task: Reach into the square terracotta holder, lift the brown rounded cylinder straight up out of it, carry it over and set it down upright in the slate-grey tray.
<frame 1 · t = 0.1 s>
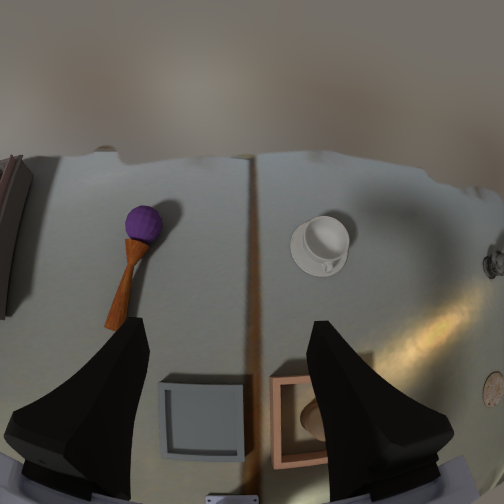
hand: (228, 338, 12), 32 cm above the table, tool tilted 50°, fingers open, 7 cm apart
tray: (201, 421, 38), on the table
flatbread: (492, 389, 41), on the table
brown rounded cylinder: (316, 416, 39), resting in holder
salt shaker: (489, 268, 51), on the table
teacup: (318, 249, 49), on the table
kendama: (135, 272, 46), on the table
holder: (316, 417, 39), on the table
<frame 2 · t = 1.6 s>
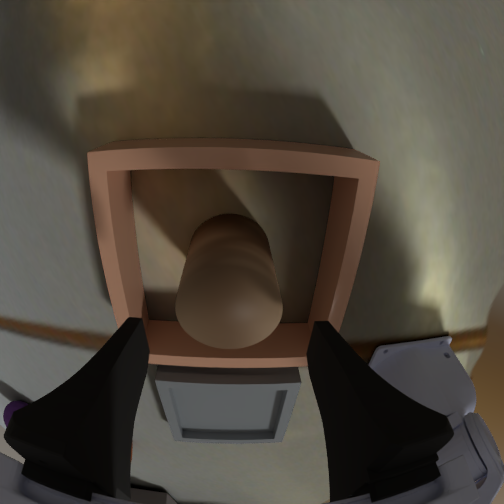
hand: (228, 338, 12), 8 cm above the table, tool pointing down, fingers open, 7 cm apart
organizer tray: (127, 496, 52), on the table
tray: (227, 402, 27), on the table
brown rounded cylinder: (229, 250, 19), resting in holder
holder: (229, 251, 19), on the table
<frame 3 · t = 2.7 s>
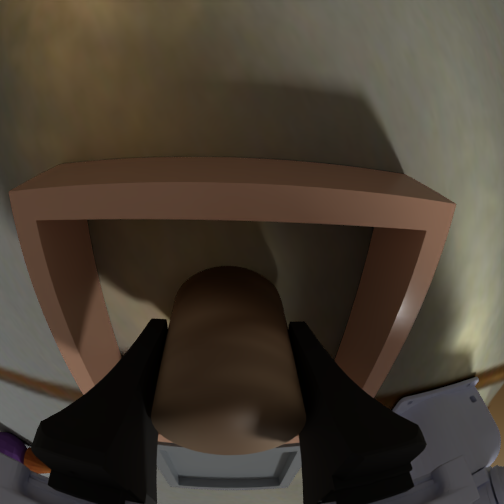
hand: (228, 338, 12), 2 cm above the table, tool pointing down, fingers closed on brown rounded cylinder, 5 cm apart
tray: (228, 454, 22), on the table
brown rounded cylinder: (228, 312, 14), resting in holder, touching gripper
kendama: (58, 454, 25), on the table
holder: (228, 313, 14), on the table
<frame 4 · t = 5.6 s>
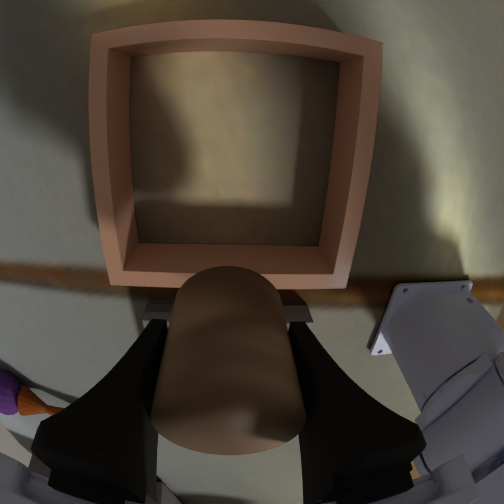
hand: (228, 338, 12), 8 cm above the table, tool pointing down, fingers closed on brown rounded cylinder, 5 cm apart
organizer tray: (122, 489, 50), on the table
tray: (227, 359, 25), on the table
brown rounded cylinder: (228, 312, 14), point 7 cm above the table, touching gripper
kendama: (54, 394, 28), on the table
holder: (230, 151, 17), on the table
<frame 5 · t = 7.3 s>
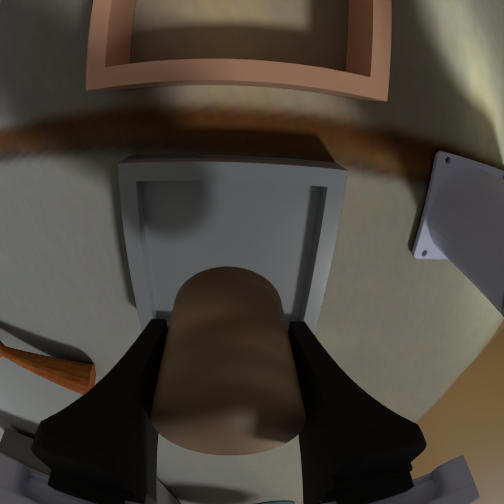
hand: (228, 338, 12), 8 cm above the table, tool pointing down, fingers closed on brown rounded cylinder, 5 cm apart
organizer tray: (106, 478, 44), on the table
tray: (229, 250, 19), on the table
brown rounded cylinder: (227, 312, 14), point 6 cm above the table, touching gripper
kendama: (17, 335, 23), on the table
when the fingers open (4 cm above the table, at t = 8.6 s): brown rounded cylinder drops 1 cm, resting on tray.
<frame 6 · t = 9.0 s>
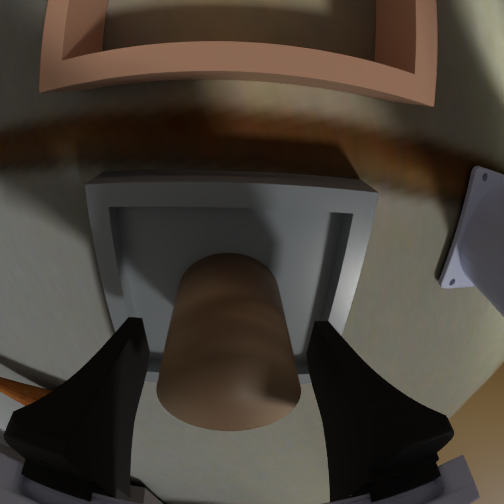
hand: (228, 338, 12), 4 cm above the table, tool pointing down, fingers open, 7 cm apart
organizer tray: (103, 492, 41), on the table
tray: (228, 285, 16), on the table
brown rounded cylinder: (228, 297, 15), point 1 cm above the table, touching tray
kendama: (2, 361, 19), on the table
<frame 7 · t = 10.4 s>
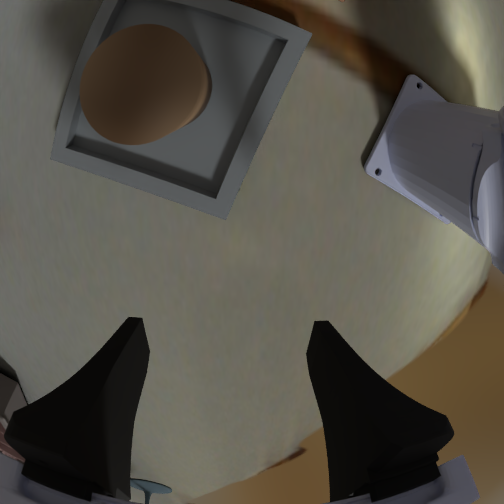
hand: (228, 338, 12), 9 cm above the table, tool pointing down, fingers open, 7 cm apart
cocktail glass: (148, 485, 48), on the table
tray: (171, 89, 15), on the table
brown rounded cylinder: (168, 88, 14), point 1 cm above the table, touching tray
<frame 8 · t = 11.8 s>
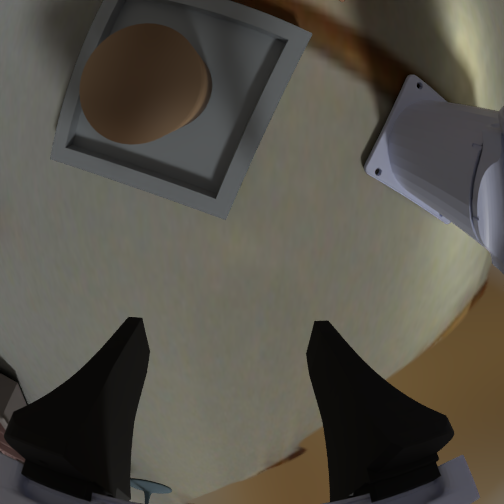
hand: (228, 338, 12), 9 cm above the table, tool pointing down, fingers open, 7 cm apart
cocktail glass: (148, 485, 48), on the table
tray: (171, 88, 15), on the table
brown rounded cylinder: (168, 88, 14), point 1 cm above the table, touching tray
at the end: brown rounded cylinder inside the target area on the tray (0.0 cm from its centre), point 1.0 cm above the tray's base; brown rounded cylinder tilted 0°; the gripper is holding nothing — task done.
